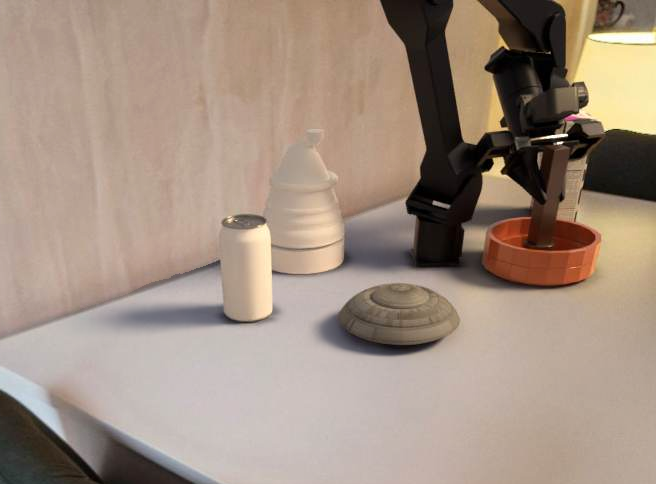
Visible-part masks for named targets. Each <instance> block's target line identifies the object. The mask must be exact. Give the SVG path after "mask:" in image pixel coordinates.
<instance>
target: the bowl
mask: <svg viewBox="0 0 656 484" xmlns="http://www.w3.org/2000/svg"><path fill="white" fill-rule="evenodd" d="M530 221H531V216H522V217H521V216H519V217H512V218H506V219H503V220H499V221H496V222H494V223H492V224H491V225H489V226H487V228H486V232H485V238H484V245H483V253H482V258H481V264H482V266H483V267H484V269H485V270H487V271H488V272H489V273H492V274H493V275H495V276H496V277H499V278H502V279H504V280H506V281H509V282H513V283H517V284H523V285H528V286H538V287H539V286H542V287H551V286H554V287H555V286H562V285H563V286H564V285H568V284H572V283H577V282H580V281H583V280H585V279H587V278H590V276H592V275H593V274H594V272H595V270H596V265H597V261H598V258H599V255H600V250H601V246H602V234H601V233H599V232H598V231H597V230H596V229H595V228H592V227H590V226H588V225H586V224H584V223H580V222H577V221H576V222H573V221H569V220H563V219H557V218H556V223H555V228H554V233H553V238H552V240H553V241H554V242H555V245H554V250H553V251H543V250H531V249H526V248H522V246H523V241H524V239H526V238H528V232H529V227H530Z"/></svg>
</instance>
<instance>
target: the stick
mask: <svg viewBox="0 0 656 484" xmlns="http://www.w3.org/2000/svg"><path fill="white" fill-rule="evenodd" d="M569 153H570V148H569V147H566V146H563V145H561V144H556V145H547V146H544V149H543V154H542V160H541V165H540V173H541V177H542V180H543V183H544V187H545V191H546V196H547V202H546V203H545V204H544V205H540V204H539V203H538V202H537V201H536V200H535V199H534V204H533V210H532V209H531V215H530V217H531V221H530V227H529V232H528V238H526V239H524V241H523V246H522V248H526V249H531V250H543V251H553V250H554V245H555V242H554V241H553V240H552V238H553V233H554V228H555V223H556V218H557V213H558V208H559V203H560V197H561V192H562V188H563V183H564V178H565V173H566V168H567V163H568V158H569Z"/></svg>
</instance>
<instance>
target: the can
mask: <svg viewBox="0 0 656 484" xmlns="http://www.w3.org/2000/svg"><path fill="white" fill-rule="evenodd" d="M266 222H267V220H266V218H264V217H263V215H259V214H254V213H239V214H233V215H229V216H226V217H223V219H221V222H220V223H221V225H222V226H221V228H220V230H219V233H218V245H219V260H220V276H221V290H222V303H223V304H222V305H223V313H224V314H225V316H226V317H227V318H228V319H230V320H232V321H234V322H238V323H255V322H259V321H262V320H265V319H266V318H268V317H269V316H270V315H271V314H272V312H273V275H272V273H273V270H272V268H271V237H270V231H269V229H268V227H267V224H266Z"/></svg>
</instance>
